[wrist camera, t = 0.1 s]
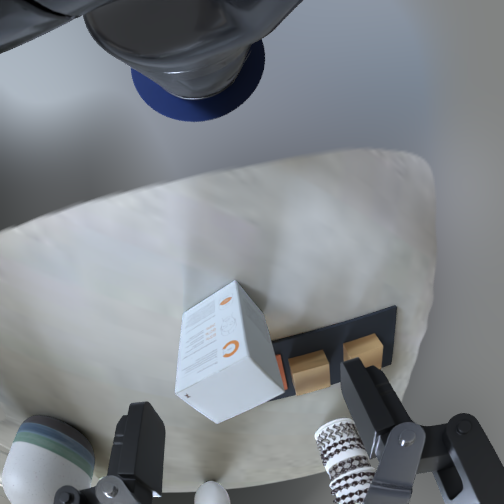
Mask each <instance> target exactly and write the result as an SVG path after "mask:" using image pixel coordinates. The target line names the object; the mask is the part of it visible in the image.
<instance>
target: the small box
mask: <svg viewBox="0 0 504 504" xmlns="http://www.w3.org/2000/svg"><path fill="white" fill-rule="evenodd" d="M283 393H285V390H284V386H283V382H282V378H281V375H280V371H279V367H278V364H277V360H276V356H275V353H274V349H273V345H272V342H271V338H270V334H269V331H268V327H267V324H266V320H265V316H264V314H263V313H262V312H261V310H260V309H259V308H258V307H257V305H256V304H255V303H254V302H253V301H252V299H251V298H250V297H249V296H248V294H247V293H246V292H245V291H244V290H243V288H242V287H241V286H240V285H239V283H238V282H237V281H236V280H234V281H233V282H231V283H230V284H228V285H227V286H225V287H224V288H222V289H220V290H219V291H217V292H216V293H214V294H213V295H211V296H209V297H208V298H206V299H205V300H203V301H202V302H200V303H199V304H197V305H195V306H194V307H192V308H191V309H189V310H188V311H186V312H185V313H183V317H182V326H181V335H180V344H179V354H178V364H177V375H176V387H175V394H176V395H177V396H179V397H180V398H181V399H182V400H184V401H185V402H186V403H188V404H189V405H190V406H192V407H193V408H194V409H196V410H197V411H199V412H200V413H202V414H203V415H204V416H206V417H207V418H209V419H210V420H212V421H213V422H215V423H216V424H219V423H221V422H223V421H225V420H228V419H230V418H232V417H234V416H237V415H239V414H241V413H243V412H245V411H248V410H250V409H252V408H254V407H256V406H258V405H260V404H262V403H264V402H267V401H269V400H271V399H273V398H275V397H277V396H279V395H281V394H283Z"/></svg>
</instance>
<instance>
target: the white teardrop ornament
mask: <svg viewBox="0 0 504 504" xmlns="http://www.w3.org/2000/svg"><path fill="white" fill-rule="evenodd" d="M194 504H230V499H229V495H228V493H227V491H226V490H225V488H224V487H223V486H222V485H220V484H219V483H217V482H215V481H208V482H205V483H204V484H203V485H201V486H200V487H199V488H198V490H197V492H196V495H195V501H194Z"/></svg>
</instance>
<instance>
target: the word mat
mask: <svg viewBox="0 0 504 504" xmlns="http://www.w3.org/2000/svg"><path fill="white" fill-rule="evenodd" d="M396 312H397V307H396V305H394V306H391V307H389V308H386V309H383V310H380V311H376V312H373V313H370V314H367V315H364V316H361V317H358V318H354V319H351V320H348V321H345V322H341V323H338V324H334V325H331V326H328V327H324V328H321V329H317V330H313V331H310V332H306V333H302V334H299V335H295V336H291V337H287V338H283V339H279V340H275V341H271V342H272V345H273V349H274V353H275V356H276V360H277V364H278V367H279V371H280V375H281V378H282V382H283V386H284V390H285V393H283V394H281V395H279V396H277V397H275V398H273V399H271V400H269V401H272V400H277V399H281V398H285V397H289V396H293V395H296V392H295V388H294V385H293V382H292V377H291V371H290V366H289V361H288V359H290V358H294V357H297V356H301V355H305V354H308V353H312V352H316V351H319V350H323V351H324V353H325V355H326V358H327V360H328V362H329V369H330V385H332V384H335V383H339V382H341V370H340V364H341V362H344V353H343V343H346V342H350V341H353V340H356V339H359V338H362V337H365V336H368V335H371V334H374V333H375V334H376V336H377V337H378V339H379V340H380V342H381V343H382V345H383V355H382V365H381V368H383V367H385V366H388V365H391V362H392V354H393V345H394V336H395V325H396ZM267 402H268V401H267Z"/></svg>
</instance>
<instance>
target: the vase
mask: <svg viewBox="0 0 504 504" xmlns="http://www.w3.org/2000/svg"><path fill="white" fill-rule="evenodd" d="M94 464H95V457H94V451H93V448H92V446H91V444H90V443H89V441H88V440H87V439H86V438H85V437H84V436H83V435H82V434H81V433H80V432H79V431H77V430H76V429H75V428H73V427H71V426H70V425H68V424H66V423H64V422H62V421H60V420H57V419H55V418H52V417H48V416H42V415H35V416H31V417H29V418H28V419H26V420H25V421H24V422H23V423H22V424H21V426H20V428H19V430H18V432H17V434H16V437H15V439H14V441H13V444H12V447H11V449H10V452H9V455H8V457H7V460H6V463H5V466H4V469H3V474H2V484H3V489H4V491H5V493H6V495H7V497H8V499H9V500H10V502H11V503H12V504H53V503H54V497H55V493H56V492H57V490H58V489H59V488H60V487H62V486H65V485H70V486H73V487H74V488H76V489H77V490H83V489H87V488H90V487H91V482H92V476H93V470H94Z"/></svg>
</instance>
